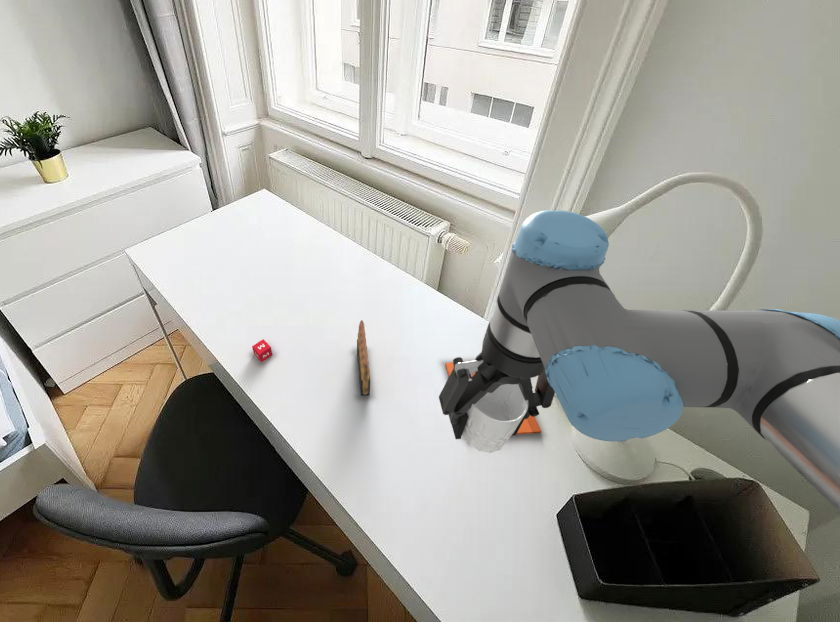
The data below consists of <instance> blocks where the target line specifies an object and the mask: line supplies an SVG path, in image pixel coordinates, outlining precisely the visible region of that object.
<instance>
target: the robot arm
mask: <svg viewBox="0 0 840 622" xmlns="http://www.w3.org/2000/svg"><path fill="white" fill-rule="evenodd" d="M609 245H610V244H609V236H608V234H607V233H606V231H605V230H604V228H603V227H602V226H601V225H600V224H598V222H596V221H594V220H593V219H592V218H591V219H590V218H589V217H587V216H585V215H582V214H579V213H577V212H573V211H570V210H569V211H568V210H562V209H559V210H551V209H546V210H541V211H538V212H534V213H533V214H530V215H529V216H528V217H527V218H526V219H525V220H524V221H522V223H521V226H520V229H519V231H518V234H517V236H516V239H515V241H514V242H513V243H512V245H511V248H510V250H511V252H510V255H509V259H508V262H507V265H506V268H505V272H504V275H503V278H502V282H501V284H500V288H499V292H498V295H497V298H496V300H495V304H494V308H493V310H492V313H491V317H490V319H489V322H488V323H487V327H486V331H485V334H484V337H483V340H482V347H481V352H479V354H477V356H476V357H475V358H474V360H470V361H464V360H463V358H462V357H460V356H459V357H455V358H454V359H453V360H452V363H453V367H454V368H453V370H452V372H451V374H450V376H448V378H447V380H446V382H445V384H444V386H443V387H442V390H441V392H440V393H439V395H438V400H439V404H440V407H441V411H442V415H444V416H448V419H449V422H450V424H451V427H452V432H453V435H454V438H455V440H461V439H462V437H463V435H462V434H463V431H464V428H465V425H466V422H467V420H468V414H467V411H468V410H469V409H470V408H471V406H472V404H474V405H475V404H476V403H477V402H478V401H479V400H480V399H481V398H482V397H483V396H484V395H485V394H486V393H493V392H494V391H495V390H496V389H497V388H498V387H499V386H500V385H504V384H518V385H519V388H520V390H521V392H522V395H523V397H524V399H525V401H526V400H528V409H527V412H526V414H525V415H524V417H523V418H522V420H521V422H520V423H519V425H518V426H517V428H516V430H515V431H514V433H513V434H512V435H511V436H517V435H518V434H517V432H518V430H519V428H520V426H521V425H522V423H523V421H524V419H527V418H528V417H529V416H532V417H534V416H535V417H537V416H539V415H540V412H539V410H538V407H540V406H541V408H542V409H548V408H550V407H551V406H552V404H553V400H554V397H555V395H556V398H557V400H558V402H559V403H560V406H561V408H562V410H563V412H564V414H565V417H566V418H567V420H568V422H569V423H570V425H571V426H572V427H573V428H574V429H575V430H577V431H578V432H579V433H581V434H582V435H584V436H586V437H588V438H591V439H593V440H598V441H603V442H617V443H618V442H626V441H628V440H632V439H645V438H649V437H652V436H655V435H658V434H660V433H662V432H664V431H667V430H668V429H670V428H671V427H673V426H674V425H675V424H676V423H677V422H678V421H679V419H680V418H681V416H682V414H683V411H684V408H715V409H718V408H719V409H731V410H733V411H735V412H736V413H737V414H739V415H740V416H741V418H742V419H743V420H744V421H745V422H746V423H747V424H748V425H749V426H750V427H751V428H752V429H753V430H754V431H755V432H756V433H757V434H758V435H759V436H760V437H762V439H764V441H766V442H768V443H769V444H770V445H771V446H772V447H773V448H774V449H775V450H776V451H777V452H778V453H779V454H780V455H781V456H782V458H784V459H785V460H786V461H787V462H788V463H789V464H790V465H791V467H792V468H794V469H795V470H796V472H798V474H799V475H800V476H802V477H803V478H804V479H805V480H806V481H807V483H809V485H811V486H812V487H813V488H814V489H815V490H816V492H818V494H820V495H821V496H822V497H823V498H824V499H825V501H827V502H828V504H830V505H831V506H832V508H834V509H835V510H836V512H837V513H838V514H840V320H839V319H836V318H835V317H830V316H828V315H824V314H818V313H813V312H812V313H811V312H810V313H809V312H800V311H787V310H783V309H778V308H766V309H763V308H762V309H755V310H752V309H749V310H748V309H747V310H746V309H744V310H740V309H737V310H733V309H732V310H731V309H730V310H729V309H728V310H727V309H726V310H724V309H723V310H722V309H721V310H719V309H718V310H711V309H710V310H709V309H707V310H706V309H705V310H686V309H685V310H684V309H683V310H680V309H679V310H678V309H676V310H675V309H674V310H673V309H627V308H624V306H623V305H622V304H621V303H620V301H619V300H618V299H617V297H616V296H615V294H614V292H613V291H612V290H611V288H610V286H609V285H608V283H607V282H606V281H605V279H604V277H603V276H602V275H601V273H600V268H601V267H602V265H604V263H605V260H606V255H607V252H608V250H609ZM474 372H475V374H474V375H473V373H474ZM472 375H473V376H472ZM471 376H472V377H471ZM536 377H537V379H536V384H535V387H533V385H532V378H536ZM533 389H534V391H533Z"/></svg>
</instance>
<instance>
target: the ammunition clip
mask: <svg viewBox="0 0 840 622" xmlns="http://www.w3.org/2000/svg"><path fill="white" fill-rule="evenodd" d="M356 358H357V369H358V380H359V389H360V390H359V393H360V396H361V397H364V396H370V395H371V376H370V373H371V371H370V365H369V364H370V362H369V355H368V346H367V338H366V329H365V323H364V321H363V320H362V319H361V320H360V322H359V324H358V332H357V339H356Z"/></svg>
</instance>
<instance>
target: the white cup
mask: <svg viewBox="0 0 840 622" xmlns="http://www.w3.org/2000/svg"><path fill="white" fill-rule="evenodd" d="M527 409H528V400H526V401H525V399H524V397H523V395H522V392H521V390H520V388H519V385H518V384H504V385H500V386H499V387H498V388H497V389H496V390H495V391H494V392H493V393H486V394H485V395H484V396H483V397H482V398H481V399H480V400H479V401H478V402H477V403H476V404H475V405H474V404H472V406H471V408H470V409H469V410H468V411H467V414H468V420H467V422H466V425H465V428H464V431H463V434H462V437H463V439H464V440H465V441H466V442H467V444H468V445H469V446H470V447H472V448H474V449H475V450H477V451H478V452H483V453H488V454H491V453H494V452H497V451H498V452H499V451H500V450H501V449H502V448H503V447H504V446H505V444H506V443H507V442H508V441H509V440H510V438H511V437H512V436H513V435H512V434H513V433H514V431H515V430H516V428H517V426H518V425H519V423H520V422H521V420H522V418H523V417H524V415H525V414H526V412H527Z"/></svg>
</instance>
